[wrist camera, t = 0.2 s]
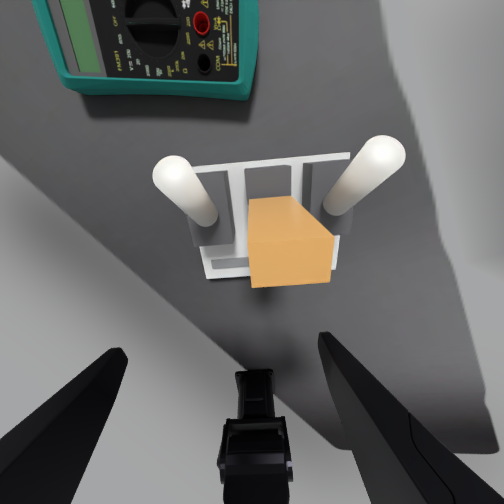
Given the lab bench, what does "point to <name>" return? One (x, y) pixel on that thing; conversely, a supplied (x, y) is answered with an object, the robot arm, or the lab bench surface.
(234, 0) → the digital multimeter
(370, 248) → the lab bench surface
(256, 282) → the wooden block
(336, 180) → the twin post stand
